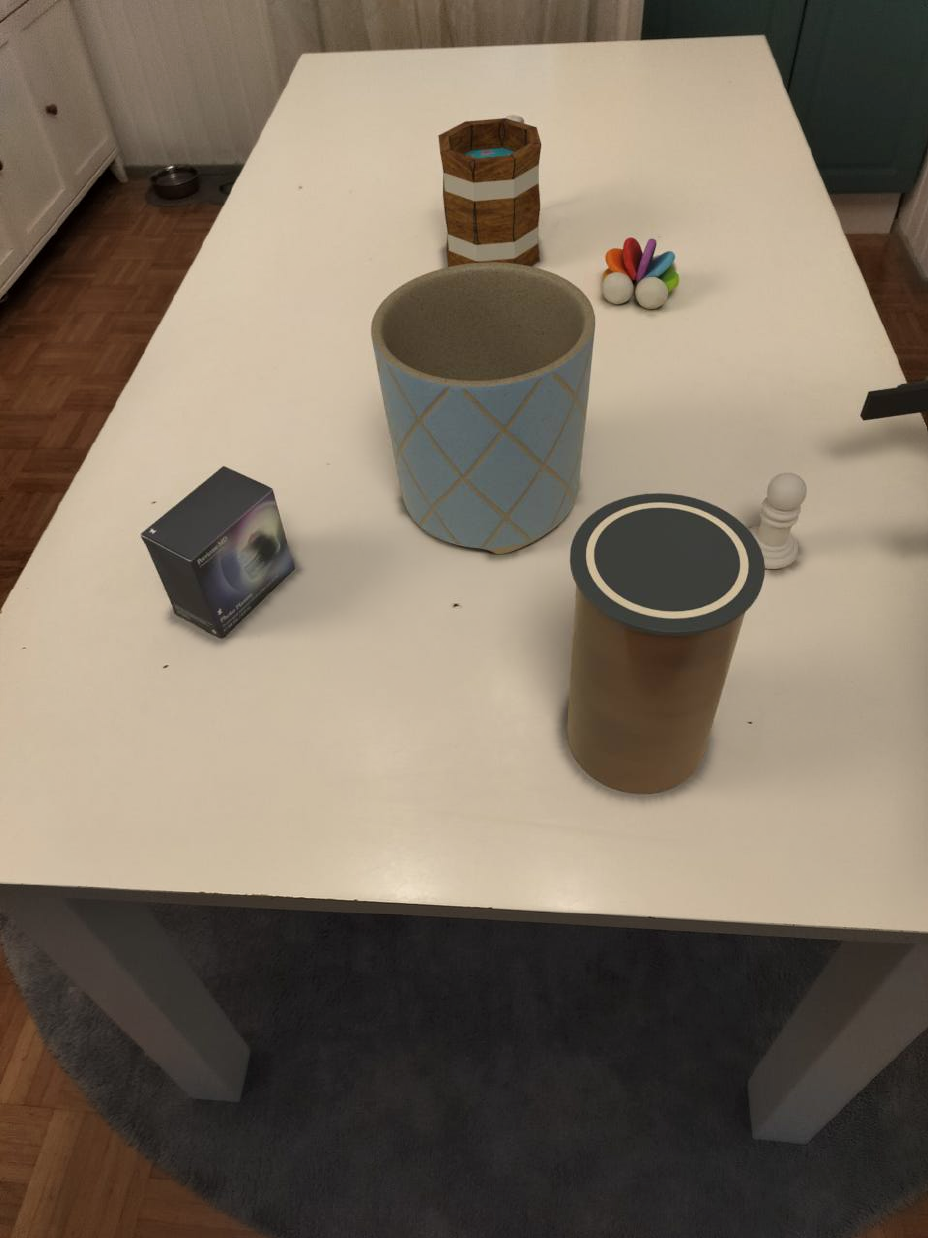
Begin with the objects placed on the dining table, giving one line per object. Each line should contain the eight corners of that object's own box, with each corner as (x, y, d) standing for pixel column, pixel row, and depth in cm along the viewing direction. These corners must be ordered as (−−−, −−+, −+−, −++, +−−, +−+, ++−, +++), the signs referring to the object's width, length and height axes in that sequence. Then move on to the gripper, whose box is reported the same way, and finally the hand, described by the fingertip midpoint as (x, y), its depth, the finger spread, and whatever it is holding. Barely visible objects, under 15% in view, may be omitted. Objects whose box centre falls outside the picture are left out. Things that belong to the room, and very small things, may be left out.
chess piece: (792, 531, 84) (816, 458, 77) (800, 572, 81) (826, 499, 74) (735, 529, 85) (754, 456, 78) (741, 570, 81) (760, 497, 75)
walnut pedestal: (734, 757, 69) (793, 586, 54) (614, 817, 66) (641, 656, 51) (653, 659, 76) (685, 482, 60) (542, 710, 73) (545, 539, 57)
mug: (526, 286, 115) (526, 167, 104) (429, 274, 119) (419, 158, 107) (564, 216, 127) (568, 103, 116) (475, 207, 130) (470, 95, 119)
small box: (224, 643, 79) (190, 563, 71) (172, 615, 82) (134, 534, 74) (299, 568, 85) (275, 486, 77) (249, 544, 87) (221, 462, 79)
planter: (359, 512, 89) (324, 338, 74) (471, 414, 99) (461, 241, 83) (512, 591, 81) (508, 414, 66) (619, 477, 91) (638, 298, 75)
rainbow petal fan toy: (610, 272, 116) (614, 217, 111) (683, 282, 114) (691, 227, 108) (592, 305, 112) (596, 250, 106) (668, 317, 109) (676, 261, 103)
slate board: (805, 589, 54) (807, 583, 53) (638, 665, 51) (639, 660, 50) (687, 475, 61) (688, 470, 60) (535, 536, 58) (535, 531, 57)
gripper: (1206, 550, 72) (957, 588, 71) (1035, 373, 88) (829, 402, 87) (1265, 480, 66) (995, 521, 65) (1070, 304, 82) (850, 335, 81)
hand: (900, 453), depth 76 cm, fingers open, 13 cm apart
